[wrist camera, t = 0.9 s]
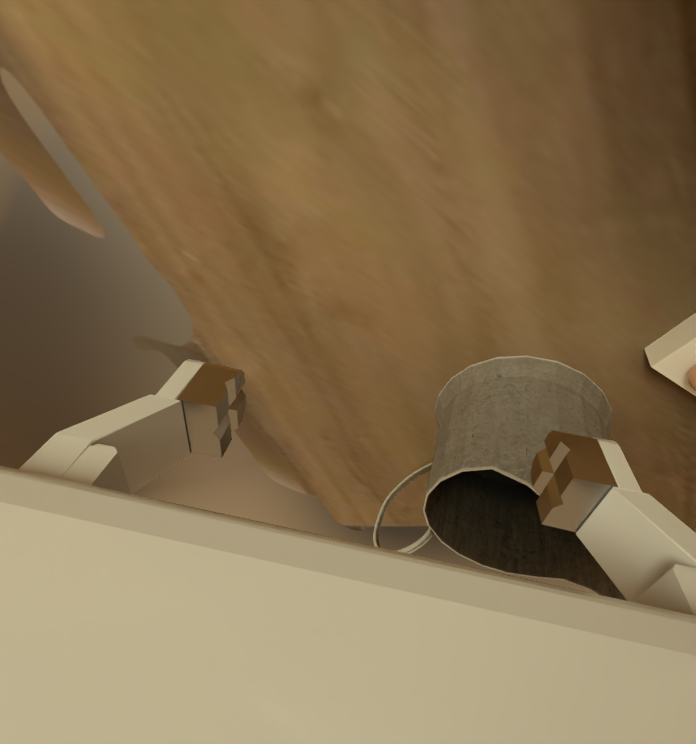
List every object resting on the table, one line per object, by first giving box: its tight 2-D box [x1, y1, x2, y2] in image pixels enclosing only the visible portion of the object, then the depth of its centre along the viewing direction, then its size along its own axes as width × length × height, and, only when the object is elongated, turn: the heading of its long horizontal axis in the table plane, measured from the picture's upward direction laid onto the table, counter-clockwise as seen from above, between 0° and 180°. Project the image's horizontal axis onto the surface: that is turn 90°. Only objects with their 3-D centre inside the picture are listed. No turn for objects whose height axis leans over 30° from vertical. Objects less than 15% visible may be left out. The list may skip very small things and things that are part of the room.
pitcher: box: [373, 356, 627, 601], centre depth 53 cm, size 23×32×25 cm
